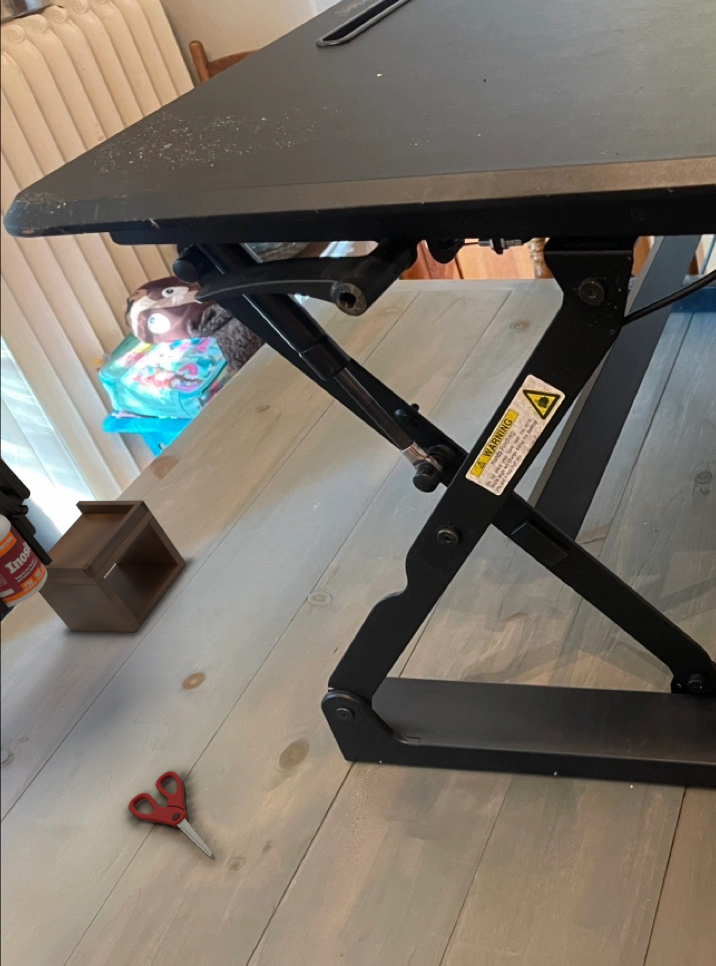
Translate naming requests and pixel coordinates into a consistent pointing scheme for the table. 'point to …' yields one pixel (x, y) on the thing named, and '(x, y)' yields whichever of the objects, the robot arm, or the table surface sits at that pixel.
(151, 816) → the scissors
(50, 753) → the table surface
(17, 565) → the pill bottle
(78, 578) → the shelf
